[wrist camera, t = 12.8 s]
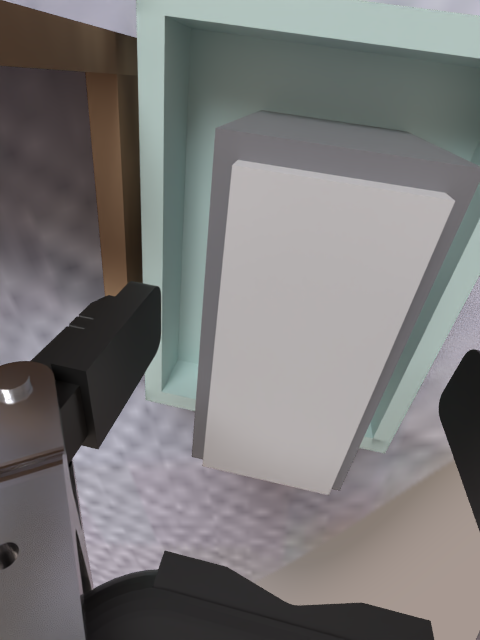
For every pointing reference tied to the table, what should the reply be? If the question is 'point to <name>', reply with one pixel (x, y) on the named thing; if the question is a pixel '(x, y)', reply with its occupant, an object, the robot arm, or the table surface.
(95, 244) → the table surface
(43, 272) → the table surface
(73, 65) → the dock
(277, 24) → the tray
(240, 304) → the grey rectangular block
